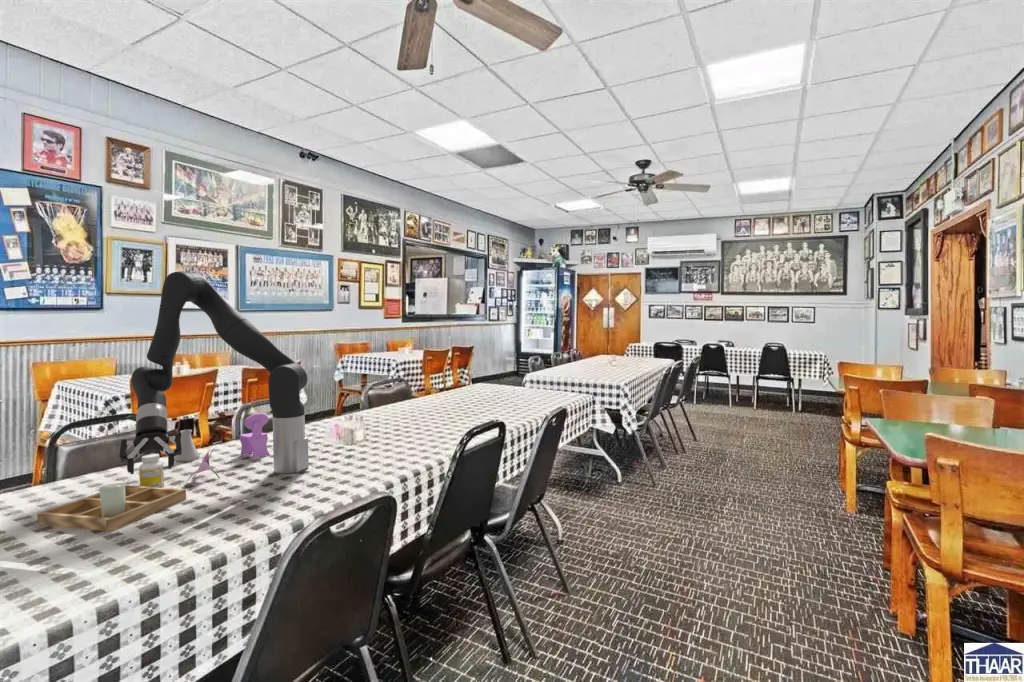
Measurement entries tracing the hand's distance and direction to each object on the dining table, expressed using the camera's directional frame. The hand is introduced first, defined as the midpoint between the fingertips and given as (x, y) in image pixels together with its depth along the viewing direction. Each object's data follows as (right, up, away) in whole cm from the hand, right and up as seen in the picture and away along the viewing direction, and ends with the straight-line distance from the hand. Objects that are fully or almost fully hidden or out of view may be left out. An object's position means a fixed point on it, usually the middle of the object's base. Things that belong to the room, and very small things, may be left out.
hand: (151, 470), depth 138 cm
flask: (-10, -5, +31) cm, 33 cm away
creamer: (+8, -6, -22) cm, 24 cm away
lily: (+9, -6, +9) cm, 14 cm away
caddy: (+4, -6, -17) cm, 18 cm away
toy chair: (+10, -4, +36) cm, 38 cm away
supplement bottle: (0, -6, 0) cm, 6 cm away
